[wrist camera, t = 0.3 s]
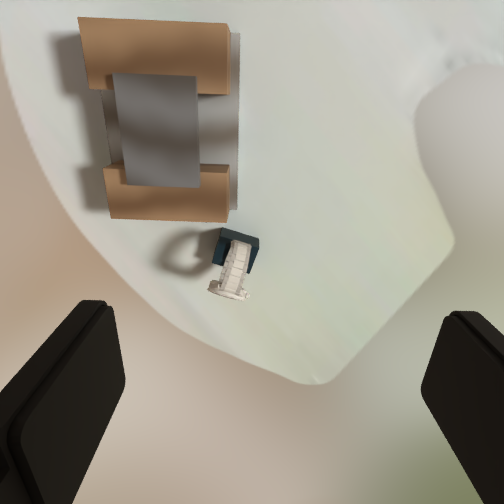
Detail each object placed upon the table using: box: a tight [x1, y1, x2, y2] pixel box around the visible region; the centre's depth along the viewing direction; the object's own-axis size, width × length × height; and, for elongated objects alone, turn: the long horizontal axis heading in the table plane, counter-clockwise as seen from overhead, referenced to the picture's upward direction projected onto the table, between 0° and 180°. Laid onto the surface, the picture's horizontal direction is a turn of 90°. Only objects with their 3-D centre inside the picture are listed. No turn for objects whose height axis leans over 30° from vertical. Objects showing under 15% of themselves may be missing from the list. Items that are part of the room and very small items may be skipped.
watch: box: [207, 227, 259, 301], centre depth 42 cm, size 6×8×11 cm
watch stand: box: [78, 17, 240, 223], centre depth 37 cm, size 20×16×7 cm
